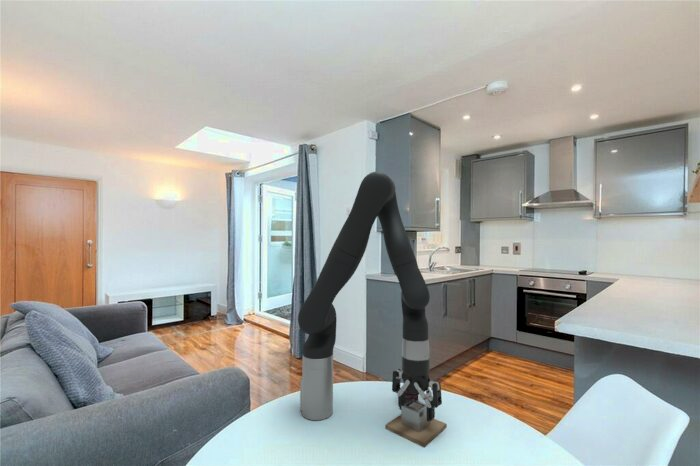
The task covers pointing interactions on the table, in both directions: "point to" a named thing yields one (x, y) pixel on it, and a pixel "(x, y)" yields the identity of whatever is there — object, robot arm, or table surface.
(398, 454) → the table surface
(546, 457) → the table surface
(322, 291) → the robot arm
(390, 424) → the post stand
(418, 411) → the collar
